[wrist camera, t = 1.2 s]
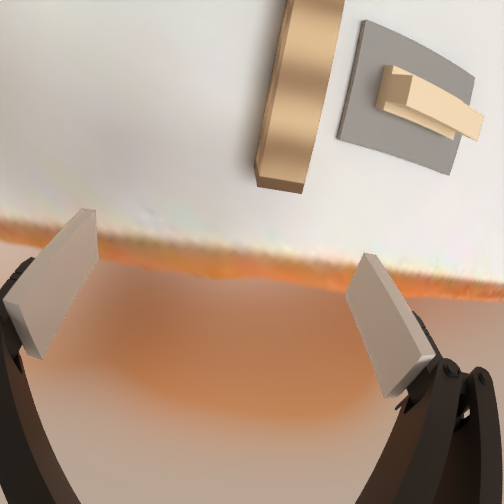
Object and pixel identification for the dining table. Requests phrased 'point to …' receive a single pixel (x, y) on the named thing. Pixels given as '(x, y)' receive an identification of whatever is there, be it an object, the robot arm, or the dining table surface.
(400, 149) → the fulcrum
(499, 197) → the dining table surface
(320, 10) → the oak bar
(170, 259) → the dining table surface
